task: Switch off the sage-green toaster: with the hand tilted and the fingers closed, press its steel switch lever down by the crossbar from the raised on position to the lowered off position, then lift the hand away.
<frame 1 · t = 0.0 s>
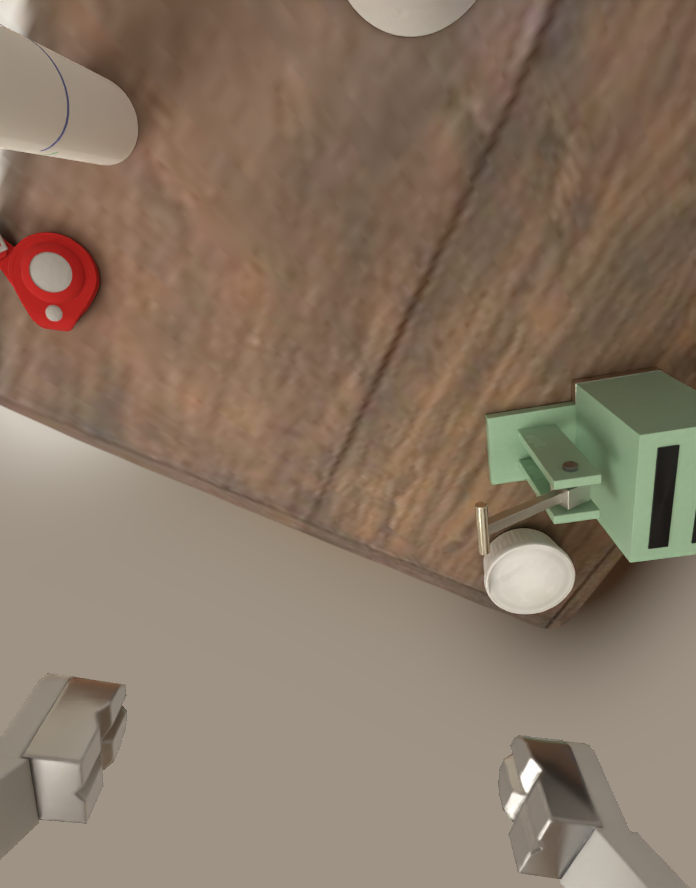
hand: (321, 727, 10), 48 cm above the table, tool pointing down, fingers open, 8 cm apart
ramekin: (517, 553, 68), on the table
toaster: (643, 459, 53), on the table
lever: (531, 507, 48), point 13 cm above the table, hinge at 24.0°
cylindrical container: (100, 121, 47), on the table
switch bracket: (533, 441, 60), on the table
tracker holder: (48, 265, 53), on the table
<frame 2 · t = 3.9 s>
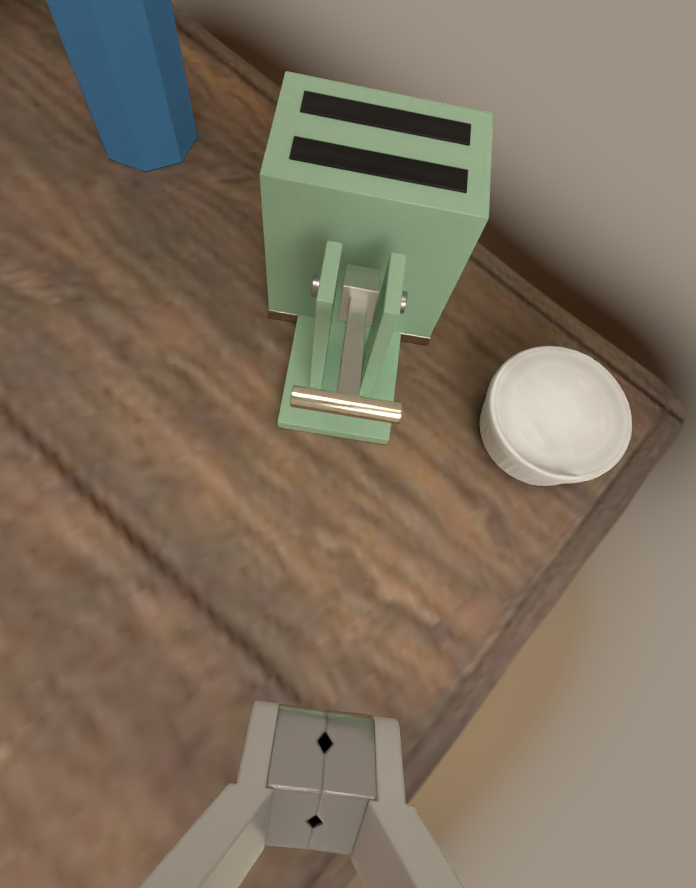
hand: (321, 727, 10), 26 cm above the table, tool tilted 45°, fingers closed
ramekin: (529, 434, 43), on the table
toaster: (366, 228, 38), on the table
lever: (354, 338, 28), point 13 cm above the table, hinge at 24.0°
water bottle: (148, 136, 49), on the table
switch bracket: (341, 376, 43), on the table
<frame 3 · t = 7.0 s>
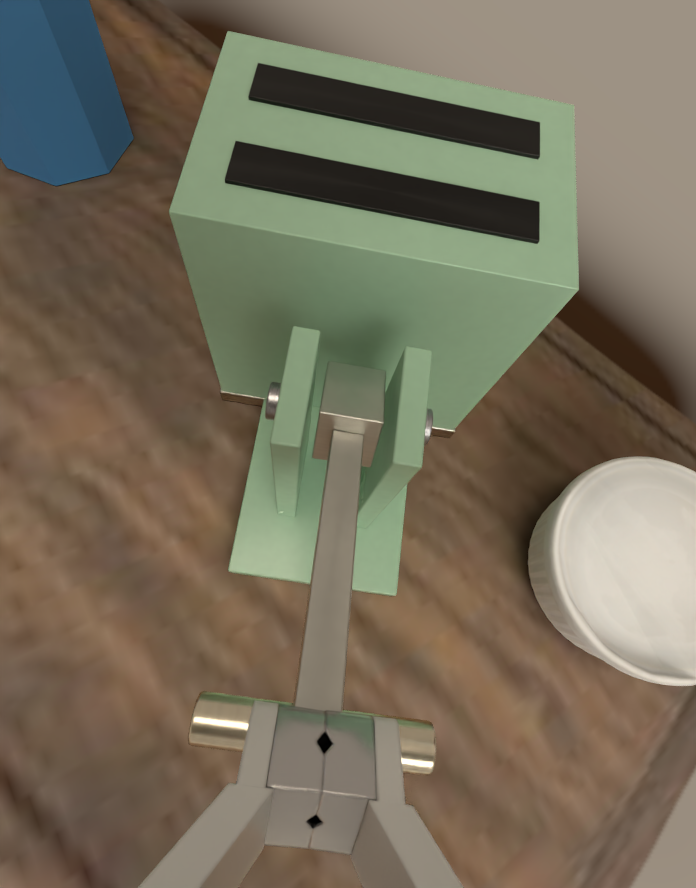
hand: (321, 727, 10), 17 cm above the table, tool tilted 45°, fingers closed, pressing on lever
ramekin: (598, 571, 30), on the table
toaster: (364, 280, 25), on the table
lever: (337, 523, 15), point 13 cm above the table, hinge at 23.3°, touching gripper
water bottle: (65, 137, 36), on the table
switch bracket: (326, 488, 29), on the table
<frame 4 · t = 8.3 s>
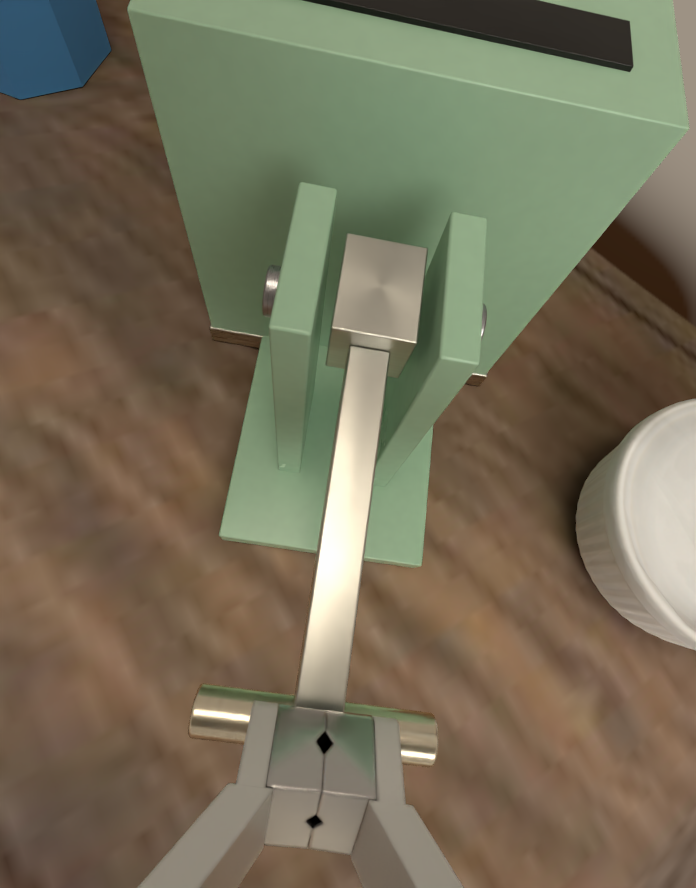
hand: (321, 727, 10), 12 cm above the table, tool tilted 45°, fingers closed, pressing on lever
ramekin: (656, 540, 25), on the table
toaster: (383, 179, 21), on the table
lever: (350, 478, 13), point 11 cm above the table, hinge at -4.6°, touching gripper
water bottle: (33, 47, 31), on the table
switch bracket: (336, 442, 25), on the table
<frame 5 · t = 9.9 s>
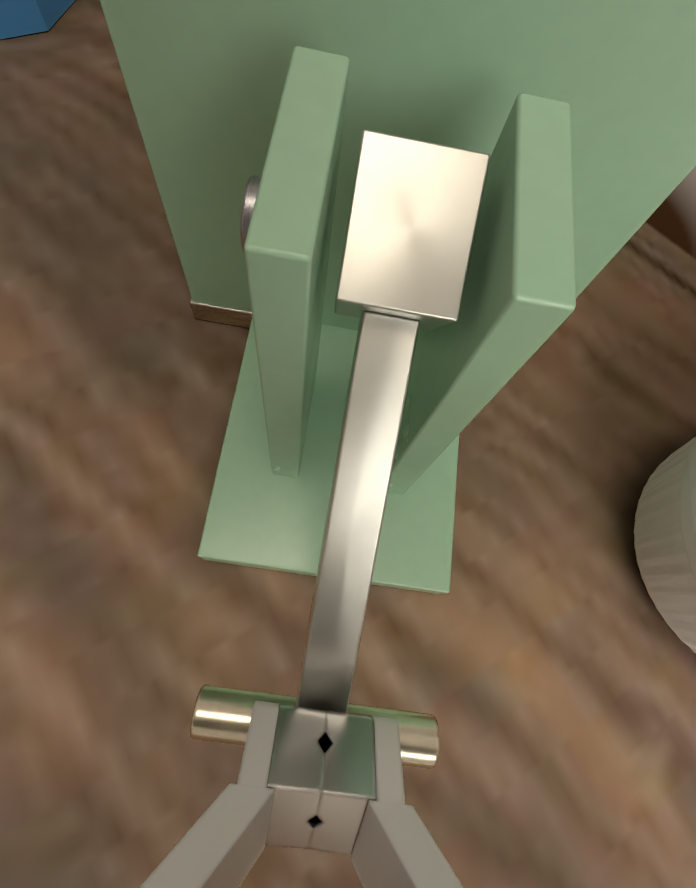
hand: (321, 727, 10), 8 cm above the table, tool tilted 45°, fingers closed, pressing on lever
toaster: (402, 109, 16), on the table
lever: (359, 483, 10), point 9 cm above the table, hinge at -28.3°, touching gripper
switch bracket: (343, 440, 20), on the table
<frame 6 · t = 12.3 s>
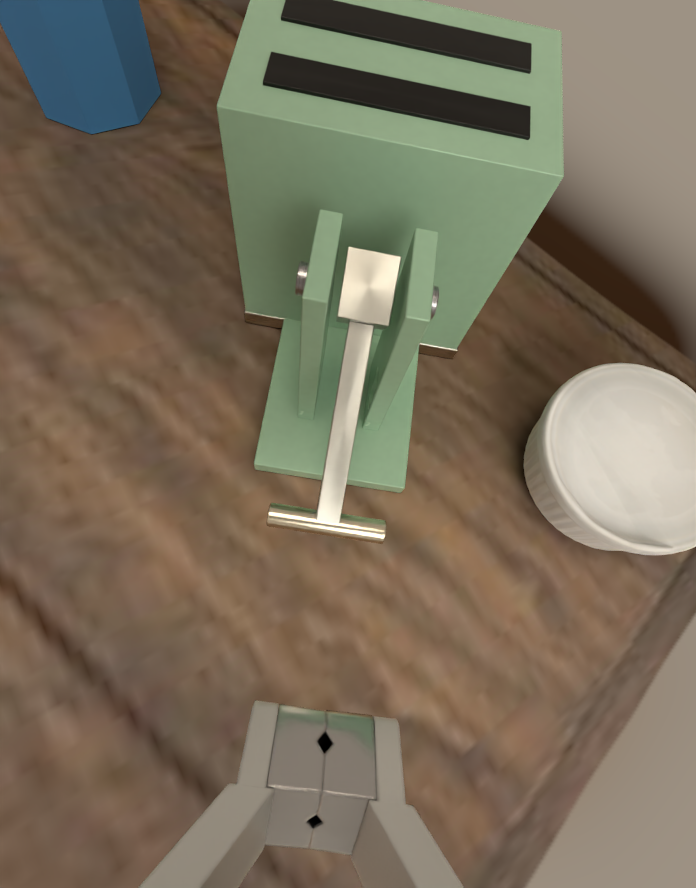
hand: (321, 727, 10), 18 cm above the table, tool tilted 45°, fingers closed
ramekin: (587, 476, 33), on the table
toaster: (376, 201, 28), on the table
lever: (347, 401, 22), point 9 cm above the table, hinge at -28.3°
water bottle: (99, 91, 39), on the table
switch bracket: (341, 400, 32), on the table
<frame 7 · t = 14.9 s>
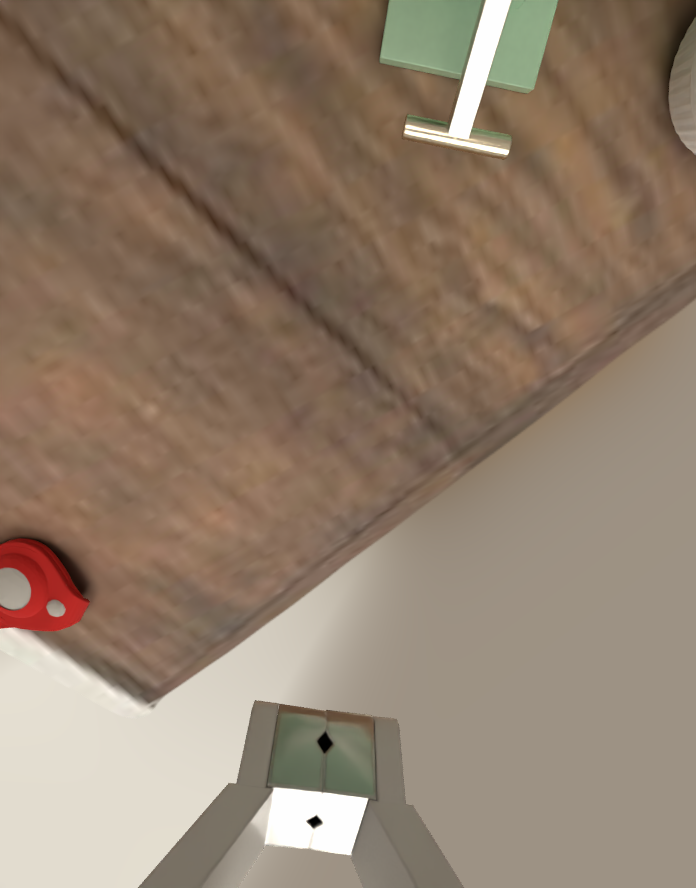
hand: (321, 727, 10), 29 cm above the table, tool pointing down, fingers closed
tracker holder: (26, 580, 47), on the table
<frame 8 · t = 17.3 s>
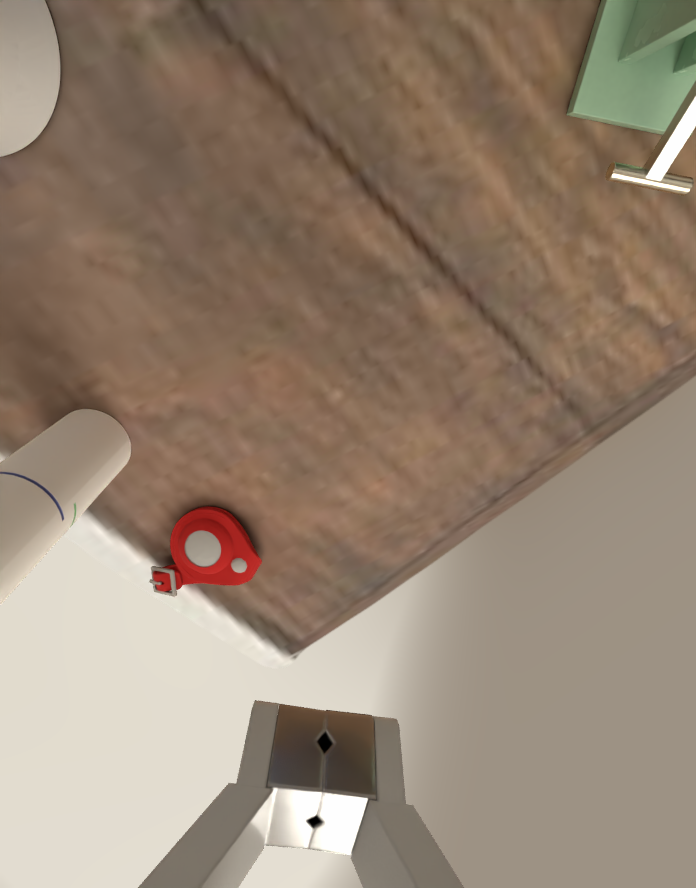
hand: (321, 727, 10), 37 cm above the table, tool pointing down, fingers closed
cylindrical container: (95, 441, 49), on the table
switch bracket: (655, 35, 35), on the table
tracker holder: (203, 543, 54), on the table
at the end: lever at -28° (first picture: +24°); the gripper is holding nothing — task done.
